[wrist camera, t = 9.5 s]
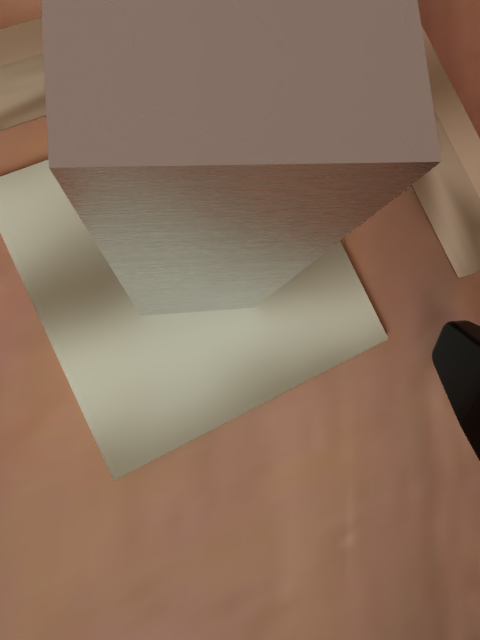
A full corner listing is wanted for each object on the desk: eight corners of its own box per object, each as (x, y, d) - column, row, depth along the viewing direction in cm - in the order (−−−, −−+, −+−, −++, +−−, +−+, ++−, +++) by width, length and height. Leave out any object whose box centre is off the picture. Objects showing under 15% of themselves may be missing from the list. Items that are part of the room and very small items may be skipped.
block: (254, 307, 17) (440, 162, 5) (140, 315, 16) (48, 167, 4) (237, 128, 18) (364, -361, 6) (128, 129, 17) (20, -429, 5)
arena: (489, 285, 19) (547, 270, 16) (-22, 548, 15) (-72, 594, 12) (339, -11, 19) (368, -78, 17) (-194, 160, 15) (-281, 111, 12)
